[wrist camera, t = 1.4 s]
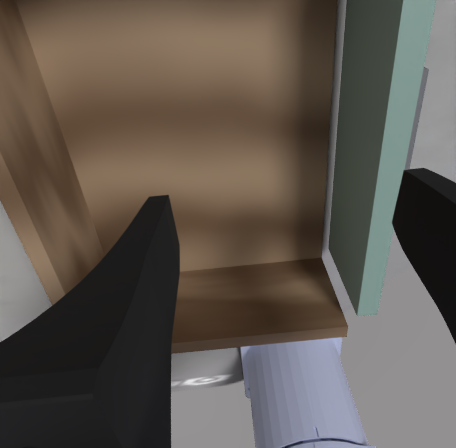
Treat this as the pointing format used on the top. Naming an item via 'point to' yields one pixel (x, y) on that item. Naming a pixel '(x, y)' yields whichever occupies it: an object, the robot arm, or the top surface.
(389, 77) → the green flat rectangular panel
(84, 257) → the wooden drawer
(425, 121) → the top surface
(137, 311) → the robot arm
